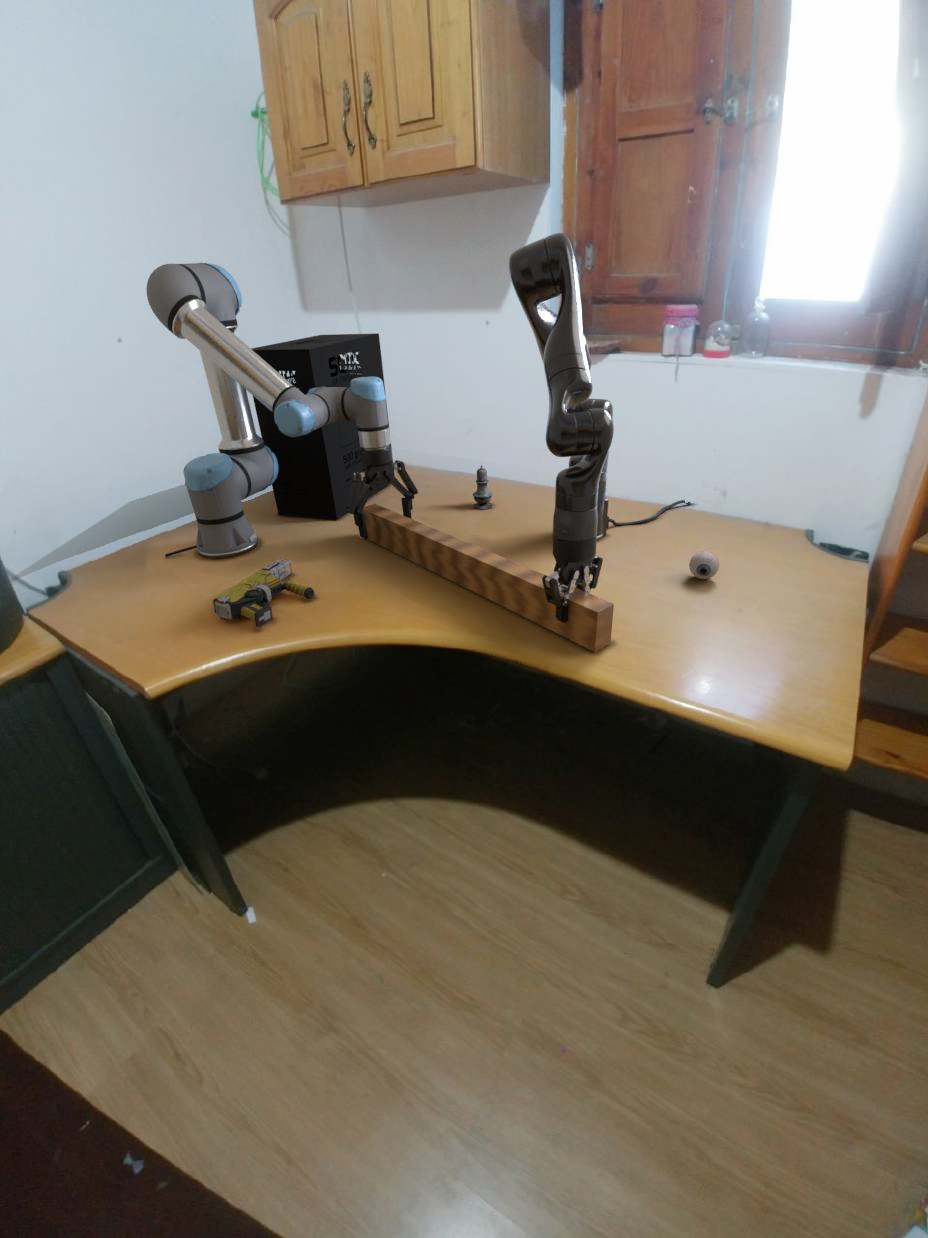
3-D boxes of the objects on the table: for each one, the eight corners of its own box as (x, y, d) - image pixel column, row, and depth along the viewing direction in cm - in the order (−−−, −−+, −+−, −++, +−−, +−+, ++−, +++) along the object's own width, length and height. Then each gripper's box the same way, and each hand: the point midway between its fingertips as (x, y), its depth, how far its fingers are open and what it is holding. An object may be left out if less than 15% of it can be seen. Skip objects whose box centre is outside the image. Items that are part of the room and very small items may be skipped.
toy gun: (334, 567, 137) (277, 555, 141) (271, 613, 117) (207, 598, 121) (335, 586, 139) (279, 574, 143) (273, 634, 119) (211, 619, 123)
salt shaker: (491, 509, 174) (490, 468, 168) (471, 508, 175) (469, 468, 169) (494, 502, 179) (493, 462, 173) (475, 502, 180) (473, 462, 174)
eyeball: (686, 582, 128) (690, 556, 125) (688, 570, 133) (692, 545, 130) (716, 586, 126) (721, 559, 123) (717, 573, 131) (722, 547, 128)
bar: (610, 643, 110) (614, 603, 106) (594, 652, 107) (597, 612, 103) (378, 532, 163) (374, 503, 159) (364, 537, 161) (360, 507, 157)
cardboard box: (342, 476, 210) (320, 334, 187) (395, 480, 203) (378, 333, 180) (278, 514, 179) (242, 350, 157) (337, 519, 173) (309, 349, 150)
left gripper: (408, 434, 153) (417, 513, 164) (321, 455, 140) (336, 540, 151) (426, 438, 148) (433, 520, 159) (337, 460, 135) (352, 548, 146)
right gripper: (585, 514, 110) (581, 596, 119) (529, 536, 102) (529, 622, 111) (618, 524, 105) (611, 609, 113) (563, 548, 97) (560, 638, 106)
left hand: (386, 529), depth 155 cm, fingers open, 13 cm apart
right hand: (571, 615), depth 112 cm, fingers closed on bar, 4 cm apart
